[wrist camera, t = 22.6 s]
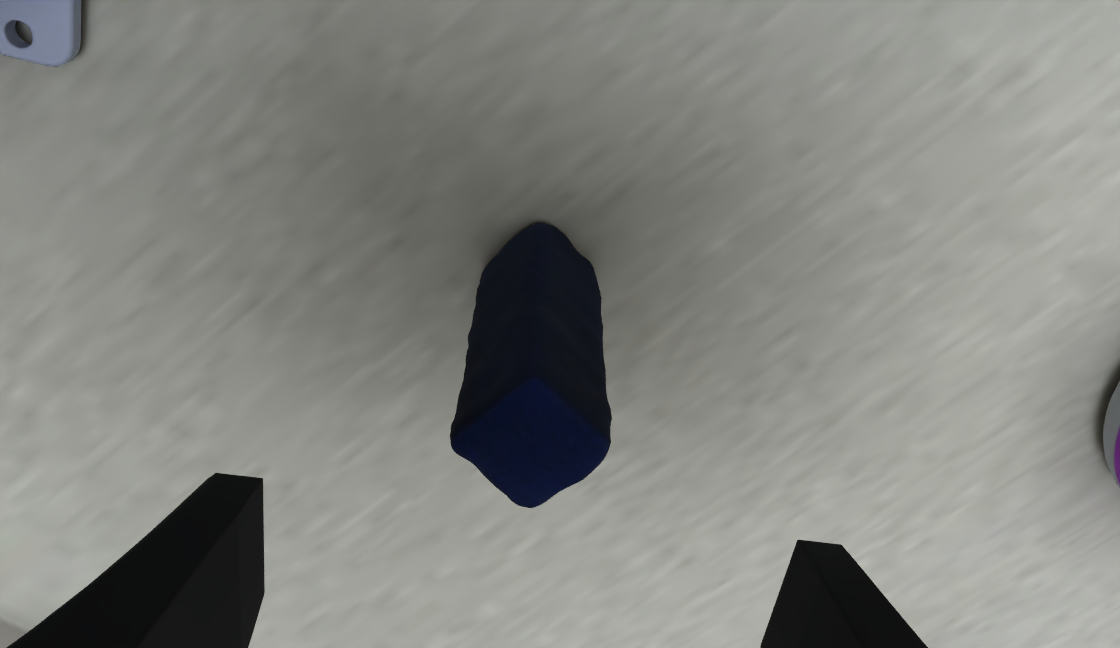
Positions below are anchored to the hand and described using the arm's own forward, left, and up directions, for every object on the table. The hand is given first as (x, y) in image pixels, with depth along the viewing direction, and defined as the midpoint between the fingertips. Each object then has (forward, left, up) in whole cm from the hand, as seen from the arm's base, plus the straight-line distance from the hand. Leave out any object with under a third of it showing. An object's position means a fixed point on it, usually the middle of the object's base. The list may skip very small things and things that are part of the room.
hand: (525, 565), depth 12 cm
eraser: (0, 0, -10) cm, 10 cm away
